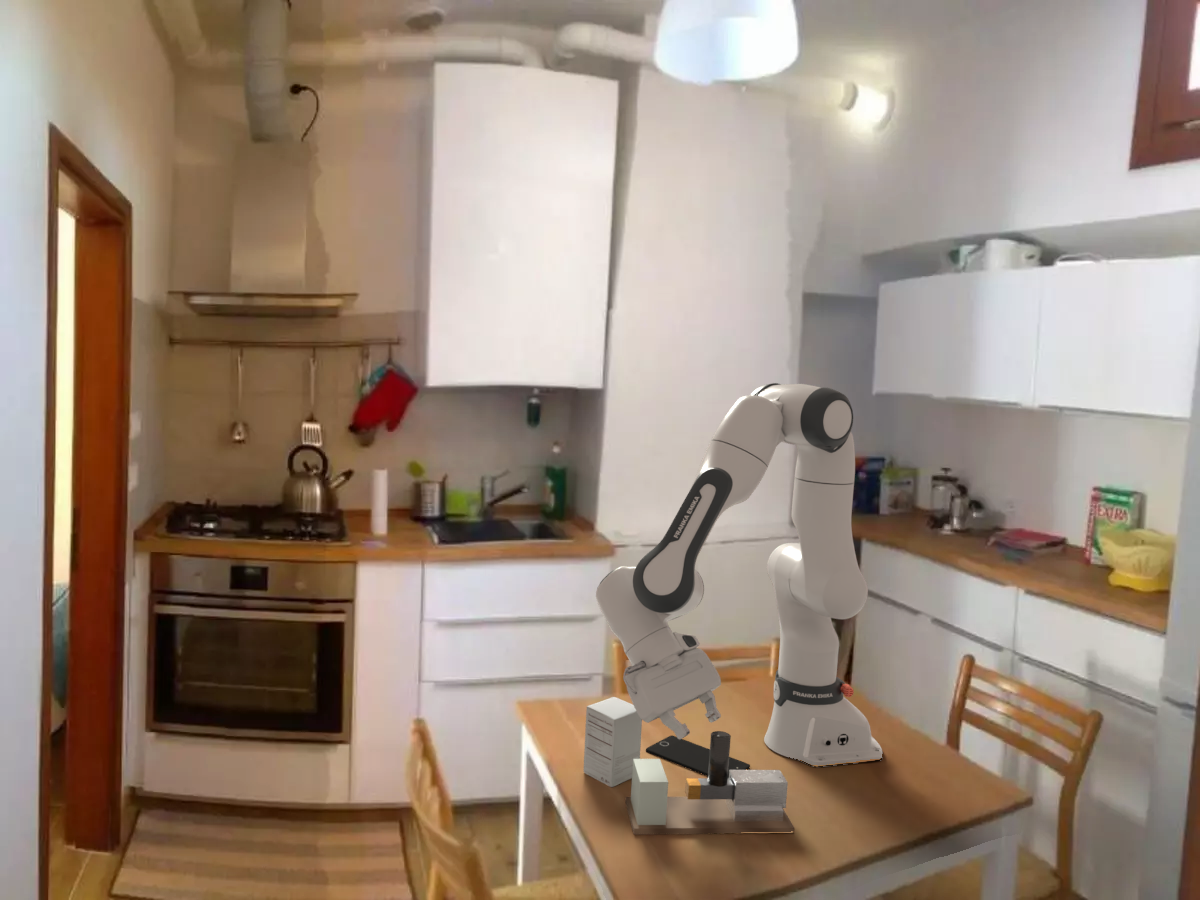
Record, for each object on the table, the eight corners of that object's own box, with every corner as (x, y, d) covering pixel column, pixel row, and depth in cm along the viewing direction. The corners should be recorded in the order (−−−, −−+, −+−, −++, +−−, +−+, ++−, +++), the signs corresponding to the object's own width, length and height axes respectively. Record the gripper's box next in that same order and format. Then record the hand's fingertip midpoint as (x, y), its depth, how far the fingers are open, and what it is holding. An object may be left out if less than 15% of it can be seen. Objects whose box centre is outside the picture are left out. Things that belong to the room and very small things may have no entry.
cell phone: (671, 739, 181) (671, 734, 181) (751, 769, 170) (751, 764, 170) (644, 753, 175) (644, 748, 174) (726, 785, 163) (726, 780, 163)
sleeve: (775, 802, 156) (778, 767, 155) (786, 821, 150) (789, 784, 149) (725, 802, 155) (728, 767, 154) (734, 821, 149) (737, 784, 148)
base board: (775, 802, 158) (776, 796, 158) (793, 833, 148) (794, 827, 148) (625, 802, 155) (625, 796, 155) (633, 834, 145) (634, 828, 145)
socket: (657, 799, 154) (659, 758, 153) (665, 824, 146) (668, 782, 146) (630, 799, 154) (633, 758, 153) (637, 825, 146) (640, 782, 145)
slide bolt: (772, 790, 154) (777, 731, 152) (778, 800, 150) (783, 739, 149) (684, 790, 152) (688, 730, 151) (688, 800, 149) (692, 739, 148)
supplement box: (610, 761, 170) (614, 695, 168) (640, 776, 165) (644, 708, 163) (581, 772, 165) (585, 705, 163) (610, 788, 159) (615, 719, 158)
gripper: (631, 660, 147) (677, 738, 142) (701, 633, 163) (744, 702, 158) (607, 679, 151) (652, 756, 146) (678, 651, 166) (720, 719, 161)
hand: (700, 728), depth 152 cm, fingers open, 8 cm apart
